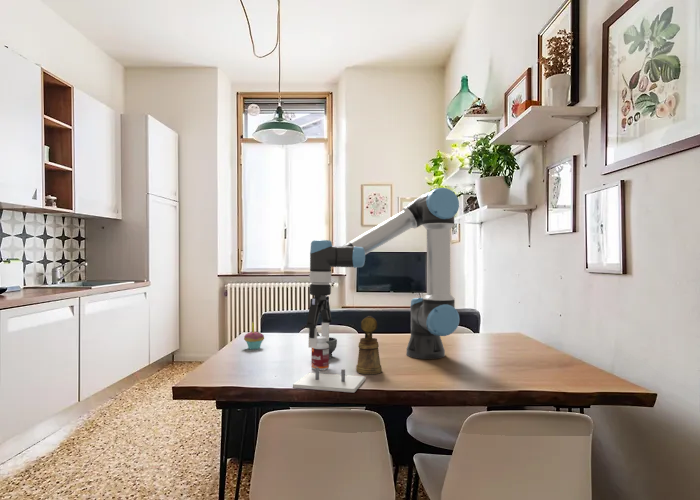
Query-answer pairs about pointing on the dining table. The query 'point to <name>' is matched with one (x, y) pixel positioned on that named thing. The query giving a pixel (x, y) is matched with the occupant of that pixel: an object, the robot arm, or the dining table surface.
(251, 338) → the cupcake
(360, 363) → the brown ball-topped piece
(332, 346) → the mortar and pestle
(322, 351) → the pill bottle
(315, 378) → the pin tray
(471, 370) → the dining table surface
